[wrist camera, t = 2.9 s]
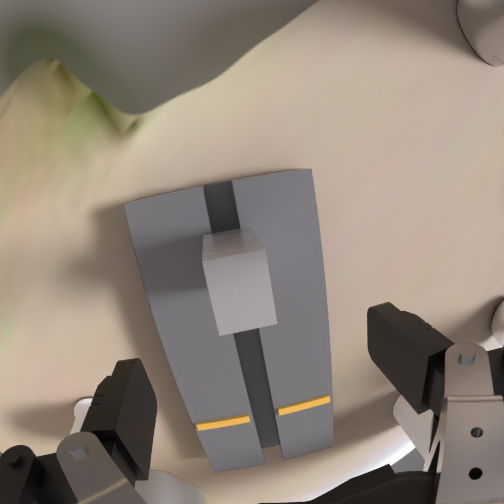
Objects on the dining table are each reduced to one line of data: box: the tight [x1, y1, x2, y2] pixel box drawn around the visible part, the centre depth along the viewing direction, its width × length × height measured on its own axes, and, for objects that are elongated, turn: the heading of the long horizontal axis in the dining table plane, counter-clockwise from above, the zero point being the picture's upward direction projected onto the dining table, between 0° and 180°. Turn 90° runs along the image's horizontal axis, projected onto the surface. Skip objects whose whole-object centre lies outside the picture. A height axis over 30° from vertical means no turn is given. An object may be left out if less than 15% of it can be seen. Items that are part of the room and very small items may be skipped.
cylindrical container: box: [393, 395, 433, 461], centre depth 21 cm, size 7×7×25 cm
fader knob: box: [202, 227, 277, 336], centre depth 20 cm, size 4×3×9 cm
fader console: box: [124, 169, 333, 472], centre depth 26 cm, size 28×13×3 cm, turn 10°
